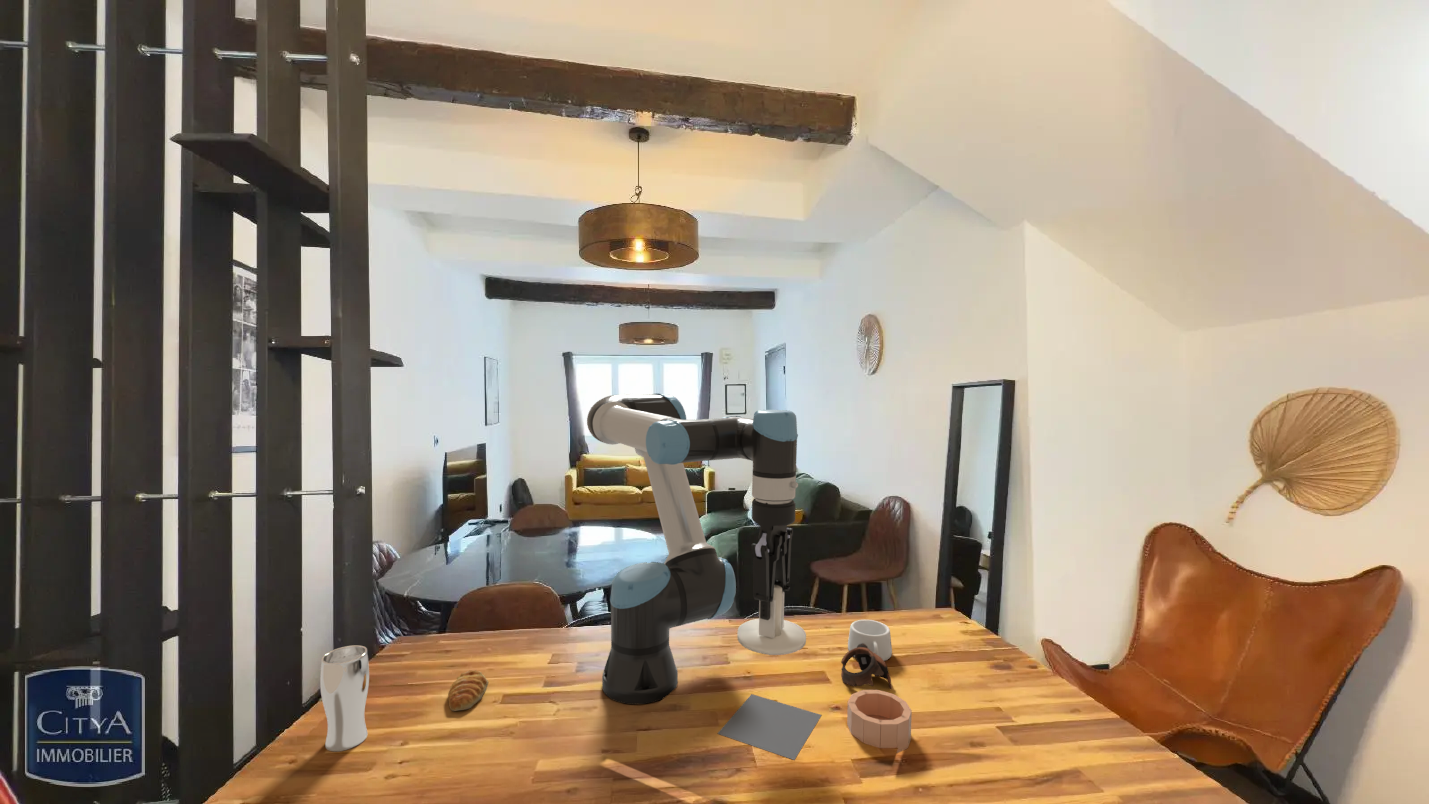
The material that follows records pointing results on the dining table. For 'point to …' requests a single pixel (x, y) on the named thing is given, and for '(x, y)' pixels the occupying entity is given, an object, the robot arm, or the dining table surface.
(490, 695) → the dining table surface
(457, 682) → the pastry
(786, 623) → the lid
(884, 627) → the mug
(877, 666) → the broken pottery
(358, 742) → the beer glass
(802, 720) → the mat
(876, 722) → the bowl
